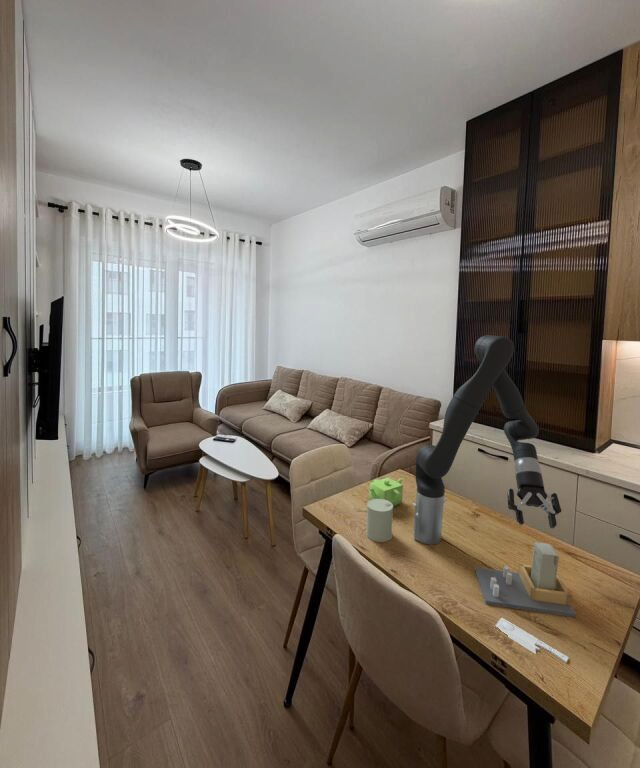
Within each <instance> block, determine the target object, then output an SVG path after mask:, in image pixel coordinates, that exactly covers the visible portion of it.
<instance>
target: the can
mask: <svg viewBox="0 0 640 768" xmlns="http://www.w3.org/2000/svg"><path fill="white" fill-rule="evenodd" d="M366 505H367V507H366V530H365V534H366V537H367V538H368V539H370V540H371V541H373V542H377V543H383V542H384V543H385V542H389V541H390V540H391V539H392V537H393V533H392V530H393V511H394V506H393V504H392V503H391V502H389V501H387V500H384V499H372V500H370V501H369V500H368V501H367V503H366Z"/></svg>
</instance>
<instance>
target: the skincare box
mask: <svg viewBox="0 0 640 768" xmlns="http://www.w3.org/2000/svg"><path fill="white" fill-rule="evenodd" d="M559 557H560V556H559V554H558V552H557V551H556V550H555V548H554V547H553V546H552V545H551V543H546V542H536V541H535V542H534V544H533V553H532V561H531V562H532V564H531V566H532V570H531V581H532V583H533V585H534V587H535V588H540V589H547V590H554V591H555V585H556V576H557V574H558V566H559V559H560V558H559Z"/></svg>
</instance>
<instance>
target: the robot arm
mask: <svg viewBox="0 0 640 768" xmlns="http://www.w3.org/2000/svg"><path fill="white" fill-rule="evenodd" d="M514 350H515V346H514V342H513V341H512V340H511V339H510V337H509V338H508V337H506V336H503V335H501V336H500V335H491V334H487V335H483V336H481V337H479V338H478V339H477V340H476V342H475V344H474V354H475V356H476V358H477V361H478V362H479V363H480V365H479V367H478V368H477V370H476V372H475V373H474V374H473V376H471V377H470V378H469V379H468V380H467V381H465V382H464V383H463V384H462V385H461V386H460V387H459V388H458V389H457V390H456V391H455V393H454V394H453V396H452V398H451V400H450V401H449V404H448V405H447V407H446V410H445V413H444V418H443V427H442V432H441V435H440V437H439V440H438V441H437V443H436V445H433V444H425V445H423V446H422V447H421V448H420V449H419V450H418V451H417V453H416V458H415V482H416V498H415V499H416V500H415V502H416V506H415V507H414V522H413V537H414V538H413V539H414V540H415V541H418V542H420V543H422V544H426V545H437V544H439V543H440V542H441V540H442V533H443V532H442V531H443V518H444V517H443V516H444V502H445V501H444V498H445V492H446V491H445V489H446V488H445V487H446V486H445V485H444V481H443V477H445V476H446V475H447V474H448V472H449V471H450V469H451V468H452V466H453V464H454V461H455V458H456V456H457V454H458V451H459V449H460V446H461V444H462V442H463V440H464V439H465V437H466V435H467V433H468V431H469V429H470V427H471V425H472V424H473V422H474V421H475V419H476V417H477V415H478V414H479V411H480V409H481V408H482V407H483V404H484V402H485V400H486V398H487V397H488V395H489V393H490V391H491V390H492V387H493V390H494V392H495V395H496V397H497V400H498V403H499V405H500V408H501V411H502V414H503V416H504V417H505V418H507V419H510V420H511V419H513V420H511V421H507V422H506V423H504V426H503V432H504V434H505V436H506V439H507V440H508V442H509V444H510V448H511V450H512V456H513V461H514V475H515V480H516V487H517V490H514V489H513V488H509V489H508V490H507V492H506V493H507V506H508V507H507V508H508V509H509V510H512V511H514V512H515V517H516V518H515V519H516V521H517V523H519V525H520V526H522V525H524V524H525V521H524V515H523V510H522V509H523V507H524V506H526V507H535V508H538V507H539V508H541V510H543V511H544V512H545V513H546V514H547V519H548V525H549V529H554V528H555V527H556V526H557V524H558V523H557V518H556V515H557V516H558V515H559V514H560V513H562V508H561V503H560V501H559V497H558V494H557V493H556V492H553V493H547V492H546V490H545V483H544V479H543V475H542V474H543V473H542V468H541V465H540V461H539V458H538V453H537V448H536V446H535V445H534V444H533V443H530V442H523V441H525V440H531V439H536V438H537V437H538V435H539V433H540V429H539V426H538V424H537V422H536V421H535V420H534V418H533V417H532V416H531V415H530V413H529V412H528V411H527V409H526V406H525V404H524V401H523V400H524V399H523V397H522V395H521V392H520V390H519V389H518V387H517V385H516V383H515V382H514V381H513V380H512V379H511V377H510V375H509V374H508V373H507V371H506V369H505V368H506V367H507V365H508V364H509V362H510V361H511V359H512V357H513V354H514ZM520 441H521V442H520ZM516 496H517V497H518V498H519V499H520V501H519V503H518V504H517V505H515V497H516ZM547 499H548V501H549V502H551V505H550V503H549V502H548V501H547Z"/></svg>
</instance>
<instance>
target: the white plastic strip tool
mask: <svg viewBox="0 0 640 768" xmlns="http://www.w3.org/2000/svg"><path fill="white" fill-rule="evenodd" d="M495 626H496V627H498V628H499V629H500V630H501V631H502V632H504V633H505V634H507V635H508V637H507V638H509V639H511V640H513V641H514V642H515V643H517V644H519V645H521V646H522V647H523V648H525V649H527V650H528V651H530V652H532V653H533V654H535V655H536V654H537V652H536V651H539V652H540V648H541V649H543V650H545V651H546V652H548V653H551V654H552V655H554V656H555V657H556V658H558V659H559V660H561V661H562V662H564V663H565V664H567V662H568V661H569V659H570V657H569V656H567V655H565V654H564V653H562V652H561V651H558V650H557V649H555V648H553V647H552V646H551V645H548V644H547V643H545V642H543V641H542V640H540V639H539V638H537V637H535V636H534V635H532V634H531V633H529V632H527V631H525V630H524V629H522V628H520V627H519V626H517V625H516V624H514V623H512V622H510V621H508V620H507V619H505V618H503V617H501V618H500V619H499V620H498V621H497V622H496V623H495V625H494V627H495Z"/></svg>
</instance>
